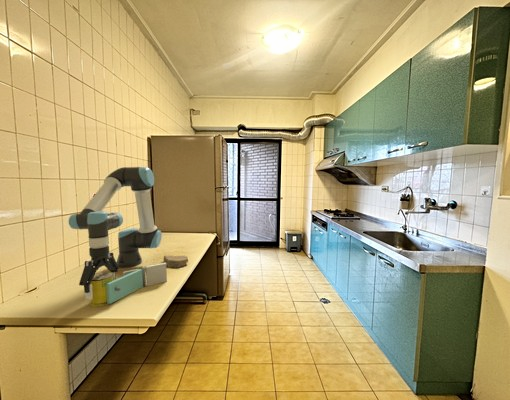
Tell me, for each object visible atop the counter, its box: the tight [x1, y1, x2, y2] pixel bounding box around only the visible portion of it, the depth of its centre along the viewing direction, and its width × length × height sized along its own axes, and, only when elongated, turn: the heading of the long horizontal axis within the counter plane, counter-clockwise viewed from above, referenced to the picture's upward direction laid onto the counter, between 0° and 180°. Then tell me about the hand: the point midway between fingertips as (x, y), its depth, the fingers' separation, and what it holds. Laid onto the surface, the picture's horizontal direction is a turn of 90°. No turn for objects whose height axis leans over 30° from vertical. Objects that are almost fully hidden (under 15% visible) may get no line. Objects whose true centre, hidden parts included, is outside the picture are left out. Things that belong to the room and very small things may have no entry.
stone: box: [163, 255, 189, 268], centre depth 162 cm, size 17×15×4 cm
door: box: [106, 268, 144, 305], centre depth 116 cm, size 3×19×9 cm, turn 160°
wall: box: [122, 262, 168, 288], centre depth 128 cm, size 3×20×10 cm, turn 126°
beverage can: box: [89, 272, 113, 308], centre depth 110 cm, size 9×9×12 cm
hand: (101, 292), depth 110 cm, fingers open, 13 cm apart
